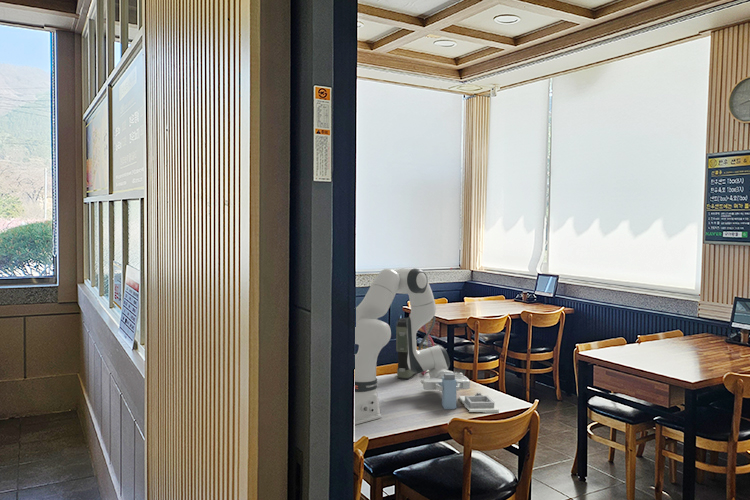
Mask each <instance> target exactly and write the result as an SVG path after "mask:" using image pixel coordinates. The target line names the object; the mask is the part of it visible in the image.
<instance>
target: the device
mask: <svg viewBox="0 0 750 500" xmlns="http://www.w3.org/2000/svg"><path fill="white" fill-rule="evenodd" d="M407 318H408V317H398V319H397V321H395V322H396V323H395V324H396V325H395V328H396V331H395V332H396V333H395V334H396V336H395V339H396V340H395V341H396V342H395V345H396V346H395V347H396V348H395V350H396V352H397V368H396V374H397V375H396V377H397V380H402V381H409V380H411V379H412V378H414V377H415V376H417V374H416V373H414V372H412V371H410V369H409V367H408V363H407V358H408V348H407V329H406V322H407ZM416 343H418V341H417V340H416Z"/></svg>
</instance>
